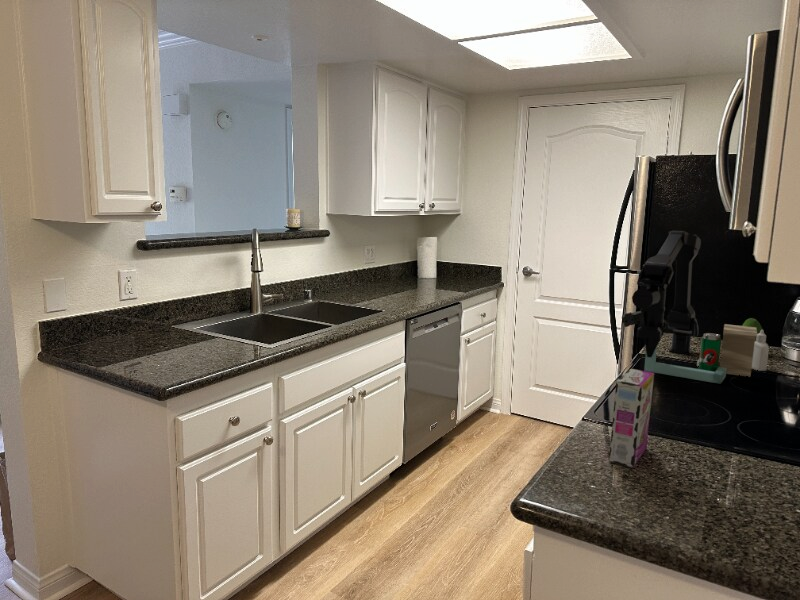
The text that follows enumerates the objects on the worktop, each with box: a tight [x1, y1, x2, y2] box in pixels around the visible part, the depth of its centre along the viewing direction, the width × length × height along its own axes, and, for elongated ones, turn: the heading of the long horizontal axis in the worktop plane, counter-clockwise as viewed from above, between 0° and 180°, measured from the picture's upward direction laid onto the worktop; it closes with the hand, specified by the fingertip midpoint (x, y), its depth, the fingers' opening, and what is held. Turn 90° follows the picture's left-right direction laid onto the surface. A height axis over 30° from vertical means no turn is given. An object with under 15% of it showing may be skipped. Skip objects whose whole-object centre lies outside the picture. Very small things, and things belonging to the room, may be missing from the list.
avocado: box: [741, 317, 763, 341], centre depth 194 cm, size 8×8×12 cm
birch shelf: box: [719, 323, 757, 378], centre depth 166 cm, size 8×8×14 cm
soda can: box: [697, 332, 722, 372], centre depth 169 cm, size 5×5×12 cm
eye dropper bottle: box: [751, 329, 770, 372], centre depth 176 cm, size 4×6×12 cm
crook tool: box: [643, 346, 727, 385], centre depth 170 cm, size 9×20×8 cm, turn 53°
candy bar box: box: [608, 368, 655, 469], centre depth 114 cm, size 11×5×16 cm, turn 145°
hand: (649, 356), depth 173 cm, fingers closed on crook tool, 3 cm apart
